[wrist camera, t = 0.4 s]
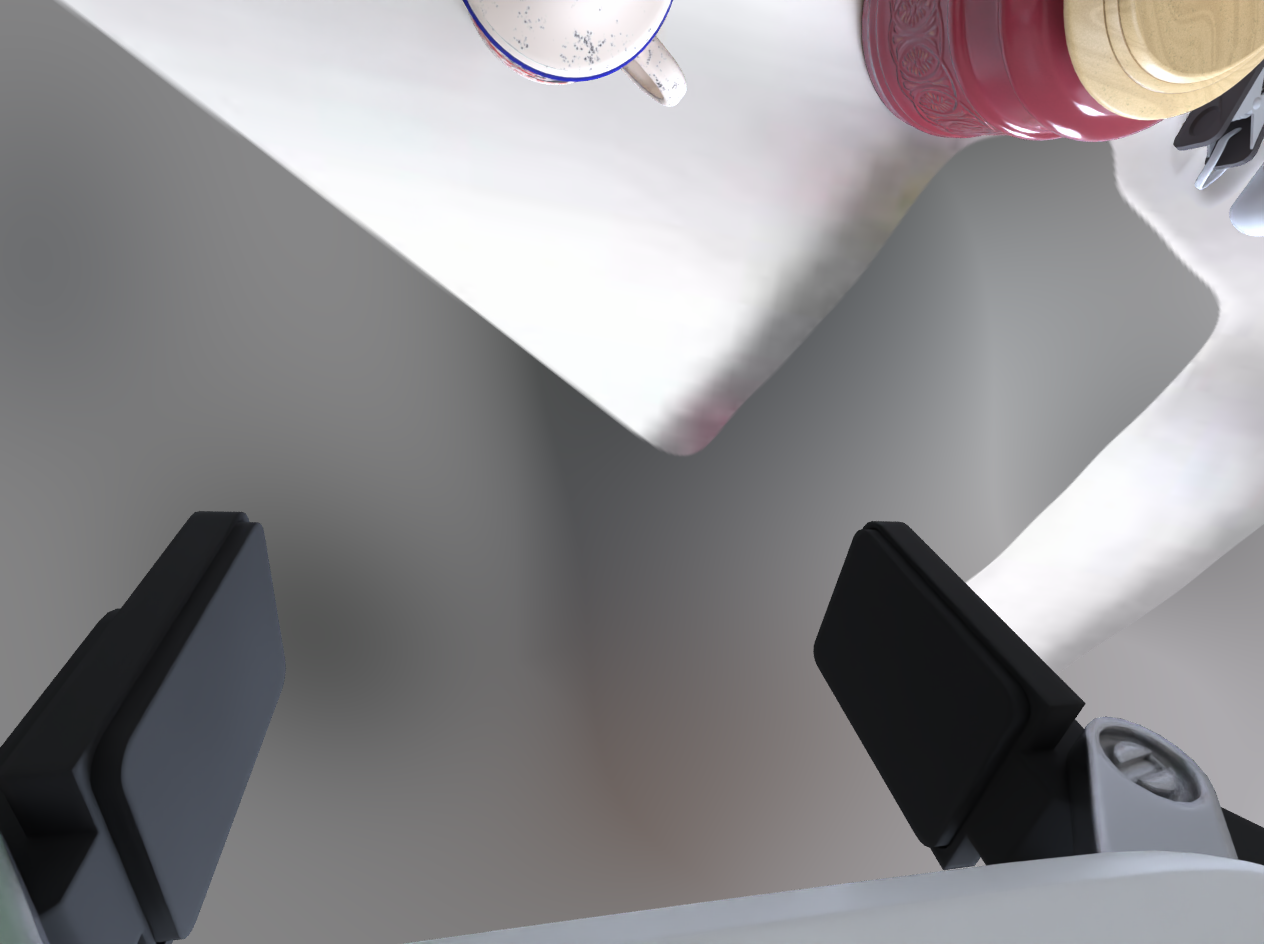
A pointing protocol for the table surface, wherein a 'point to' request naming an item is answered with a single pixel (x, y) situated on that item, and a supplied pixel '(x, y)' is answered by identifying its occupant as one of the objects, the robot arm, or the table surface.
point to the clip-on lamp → (1232, 144)
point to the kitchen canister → (1056, 62)
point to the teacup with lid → (582, 41)
